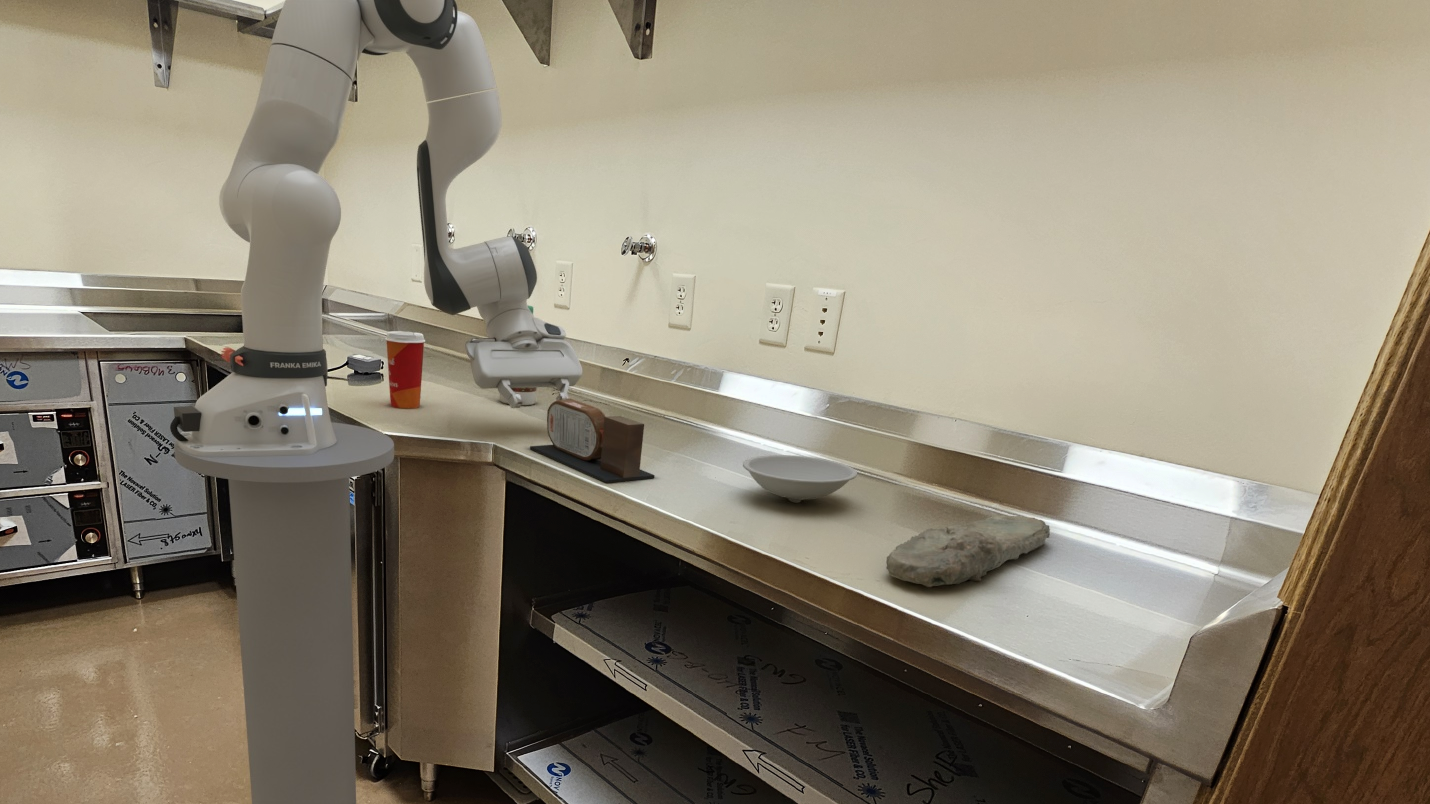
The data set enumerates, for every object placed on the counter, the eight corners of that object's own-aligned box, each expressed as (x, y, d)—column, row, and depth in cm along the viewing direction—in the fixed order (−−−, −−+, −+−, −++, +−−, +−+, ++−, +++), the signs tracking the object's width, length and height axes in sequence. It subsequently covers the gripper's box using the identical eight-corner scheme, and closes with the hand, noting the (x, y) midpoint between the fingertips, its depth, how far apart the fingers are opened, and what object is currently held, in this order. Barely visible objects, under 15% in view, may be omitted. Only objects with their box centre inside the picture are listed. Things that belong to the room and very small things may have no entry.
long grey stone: (1065, 556, 110) (989, 538, 117) (1074, 517, 109) (997, 501, 116) (948, 600, 87) (861, 574, 94) (958, 551, 85) (869, 528, 92)
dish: (785, 521, 111) (791, 485, 110) (715, 492, 123) (720, 458, 121) (874, 509, 120) (881, 475, 119) (802, 483, 132) (807, 452, 130)
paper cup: (391, 400, 169) (390, 329, 165) (428, 404, 169) (429, 332, 164) (380, 407, 162) (379, 333, 157) (419, 411, 162) (420, 336, 157)
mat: (606, 483, 122) (606, 480, 122) (529, 449, 139) (529, 446, 139) (654, 478, 127) (654, 475, 127) (574, 445, 144) (574, 442, 144)
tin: (610, 465, 131) (615, 411, 128) (594, 466, 129) (598, 412, 126) (557, 443, 142) (560, 394, 139) (541, 445, 140) (544, 394, 138)
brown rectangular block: (623, 478, 124) (628, 424, 121) (599, 468, 128) (604, 416, 126) (639, 476, 126) (644, 423, 123) (615, 466, 130) (620, 415, 127)
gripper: (468, 326, 139) (494, 396, 134) (571, 328, 150) (598, 392, 146) (455, 349, 143) (480, 418, 139) (556, 350, 155) (582, 413, 151)
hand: (541, 405), depth 143 cm, fingers open, 8 cm apart
